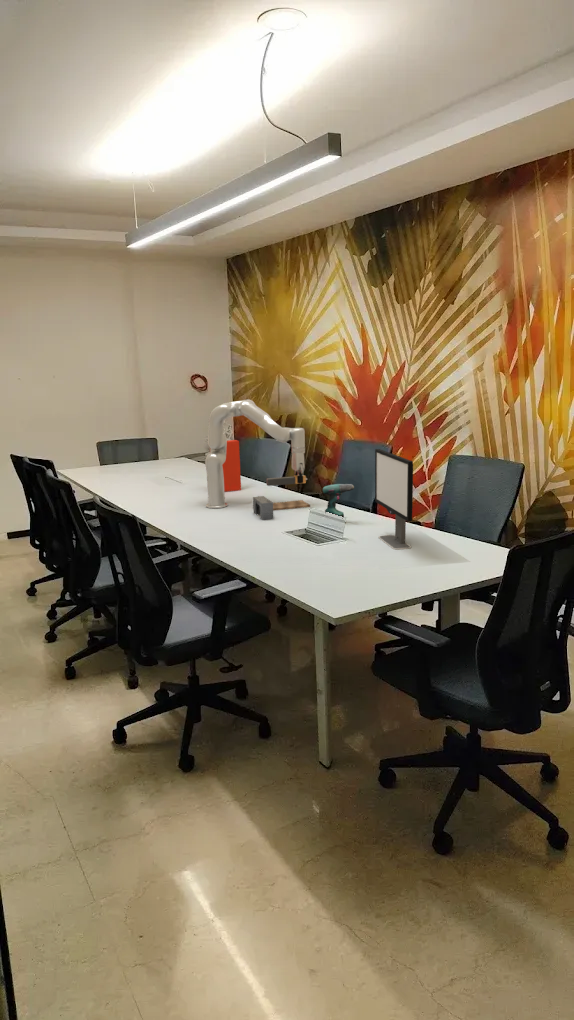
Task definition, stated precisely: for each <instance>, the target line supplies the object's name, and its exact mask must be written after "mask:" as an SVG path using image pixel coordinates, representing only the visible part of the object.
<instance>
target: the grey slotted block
mask: <svg viewBox="0 0 574 1020" xmlns="http://www.w3.org/2000/svg"><path fill="white" fill-rule="evenodd" d="M273 503H274V502H273V501H272V500H270V499H269V498H267V497H266V496H264V495H260V496H253V497H252V504H253V507H252V509H253V514H254V515H255V514H256V516H257V514H258V515H259V519H260V520H262V521H266V520H267V521H269V520H274V511H273Z"/></svg>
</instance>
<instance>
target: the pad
mask: <svg viewBox="0 0 574 1020" xmlns="http://www.w3.org/2000/svg"><path fill="white" fill-rule="evenodd" d="M301 508H302V509H303V508H311V504H309V503H308V502H306V501H304V500H303V499H300V500H299V499H298V500H291V501H289V500H287V501H281V502H280V501H279V502H277V501H276V502H273V512H275V511H284V510H293V509H301Z"/></svg>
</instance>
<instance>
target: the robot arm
mask: <svg viewBox="0 0 574 1020" xmlns="http://www.w3.org/2000/svg"><path fill="white" fill-rule="evenodd" d="M240 416H244V417H245V418H247V419H248V420H249V421H251V422H252V423H254V424H256V426H258V427H259V428H260V429H262V430H263V431H264V432H265V433H266V434H268V435H269V436H271V437H272V438H273V439H274V440H276V441H278V442H280V443H286V442H288V441H291V444H290V445H291V469H292V471H294V473H293V474H294V475H298V476H297V483H300V484H304V483H303V475H304V471H305V469H306V468H305V467H306V466H305V453H306V444H305V443H306V441H305V439H306V438H305V437H306V436H305V434H306V432H305V428H304V427H286V426H285V427H283V426H281V425H279V424H278V423H277V422H275V421H274V420H273V419H272V417H271V415H270V414H269V413H267V412H266V411H265V410H263V409H262V408H261V407H259V406H257V405H256V402H254V401H253V400H251V399H249V398H247V399H243V400H236V401H230V402H224V403H222V404H220V405H217V406H216V407H214V408H213V409H212V411H211V412H210V414H209V419H208V429H207V430H208V432H207V445H208V447H209V453H208V454H207V455H206V457H205V461H204V464H205V471H206V481H207V483H206V484H207V499H208V500H207V501H208V503H206V504H205V506H206V508H209V509H221V508H226V507H228V506H229V505H228V502H226V497H225V496H226V495H225V493H226V492H224V475H223V467H222V465H223V464H224V462H225V460H226V449H227V441H228V440H227V439H228V438H227V436H226V434H225V433H224V429H225V427H224V426H225V423H224V422H225V420H227V419H230V418H234V417H240Z"/></svg>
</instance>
